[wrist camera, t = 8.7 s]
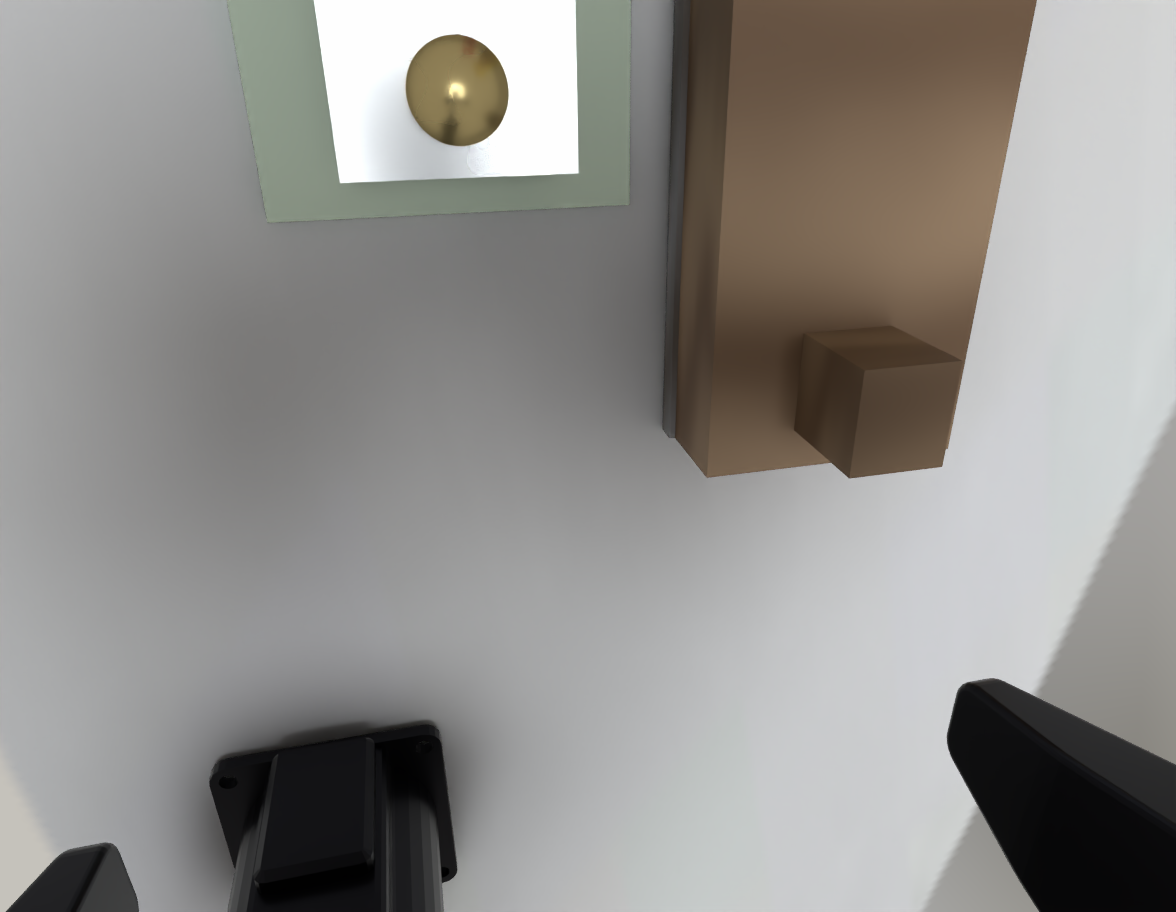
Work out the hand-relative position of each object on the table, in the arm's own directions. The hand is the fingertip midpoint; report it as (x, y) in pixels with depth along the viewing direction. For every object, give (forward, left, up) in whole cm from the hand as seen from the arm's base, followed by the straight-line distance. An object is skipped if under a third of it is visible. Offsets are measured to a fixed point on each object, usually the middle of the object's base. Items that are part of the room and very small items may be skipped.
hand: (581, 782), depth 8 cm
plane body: (+7, -9, -13) cm, 17 cm away
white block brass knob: (+8, 0, -13) cm, 15 cm away
